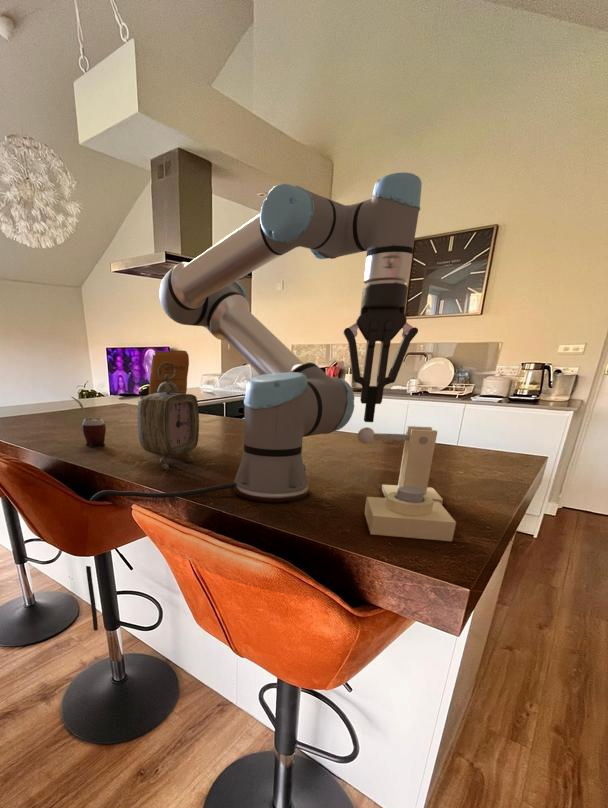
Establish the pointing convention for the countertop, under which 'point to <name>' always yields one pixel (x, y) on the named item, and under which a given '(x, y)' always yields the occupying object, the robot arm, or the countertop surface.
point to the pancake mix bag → (169, 370)
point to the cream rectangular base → (409, 518)
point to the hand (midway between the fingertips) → (368, 421)
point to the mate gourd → (93, 429)
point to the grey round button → (410, 494)
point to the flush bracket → (417, 462)
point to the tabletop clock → (168, 420)
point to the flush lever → (378, 436)
